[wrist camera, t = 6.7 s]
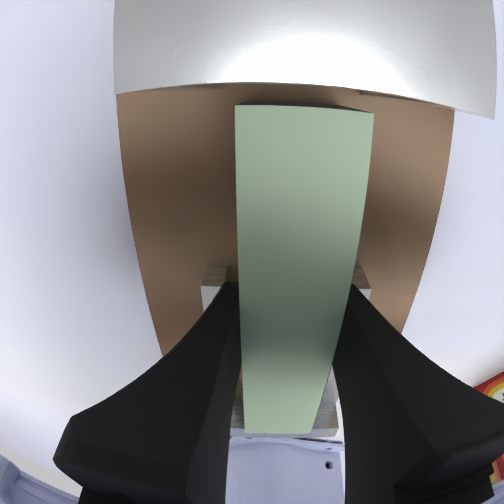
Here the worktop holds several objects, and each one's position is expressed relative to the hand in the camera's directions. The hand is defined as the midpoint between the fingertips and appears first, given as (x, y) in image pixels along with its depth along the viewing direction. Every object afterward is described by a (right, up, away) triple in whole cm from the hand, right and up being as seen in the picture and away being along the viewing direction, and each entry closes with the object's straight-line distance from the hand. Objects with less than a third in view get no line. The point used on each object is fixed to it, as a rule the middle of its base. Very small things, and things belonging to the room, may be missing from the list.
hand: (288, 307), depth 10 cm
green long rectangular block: (0, +1, +2) cm, 2 cm away
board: (0, +4, +1) cm, 4 cm away
